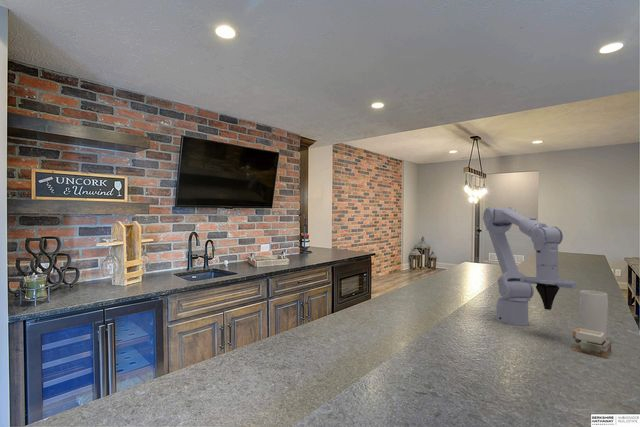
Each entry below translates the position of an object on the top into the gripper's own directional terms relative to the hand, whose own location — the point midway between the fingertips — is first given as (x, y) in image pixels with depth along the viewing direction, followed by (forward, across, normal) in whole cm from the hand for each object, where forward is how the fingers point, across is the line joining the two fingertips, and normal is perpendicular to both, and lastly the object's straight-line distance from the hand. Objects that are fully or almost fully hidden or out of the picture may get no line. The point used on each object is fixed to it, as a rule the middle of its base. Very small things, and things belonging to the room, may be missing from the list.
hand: (548, 309), depth 100 cm
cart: (+7, +10, -4) cm, 13 cm away
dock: (+9, +5, -4) cm, 11 cm away
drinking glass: (+10, +9, +9) cm, 16 cm away
